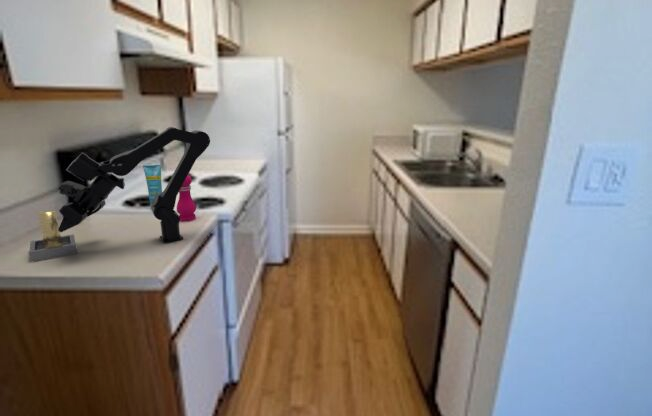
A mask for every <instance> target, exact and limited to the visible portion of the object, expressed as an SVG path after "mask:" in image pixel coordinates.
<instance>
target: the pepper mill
mask: <svg viewBox="0 0 652 416" xmlns="http://www.w3.org/2000/svg"><path fill="white" fill-rule="evenodd" d="M192 180H193V179H192V177H191V175H190V174H188V176H187V178H186V179H185V181H184V183H183V185H182V187H181V189H180V191H179V193H178V202H177V203H176V213H177V214H178V215H179V217H180V221H179V222H183V221H186V222H192V221H195V220H196V219H197V218H196V214H195V212H196V210H197V206H196V204H195V202H194V200H193V198H192V195H191V194H192V193H191V189H192V186H191V184H192Z"/></svg>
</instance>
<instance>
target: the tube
mask: <svg viewBox="0 0 652 416" xmlns="http://www.w3.org/2000/svg"><path fill="white" fill-rule="evenodd" d="M142 168H143V172H144V176H145V182H146V185H147V186H146V187H147V190H148V197H149V204H150V206H151V205H152V204H151V203H150V202H151V201H153V199H154V197H155V194H156V192H157V193H159V194H161V193H162V192H163V189H162V188H163V187H162V164H151V165H150V164H149V165H146V164H145V165H144V164H143V165H142Z"/></svg>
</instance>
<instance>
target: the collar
mask: <svg viewBox="0 0 652 416" xmlns="http://www.w3.org/2000/svg"><path fill="white" fill-rule="evenodd" d="M60 236H61V235H60ZM61 241H62V246H57V247H51V248H45V245H44V240H43V238H42V239H36V240H31V241H30V243H29V252H28V254H29V256H30V261H31V262H30V263H33V262H32V261H34V262H39V260H40V261H43V260H45V261H46V260H49V259H50V258H51V259H55V258H60V257H66V256H71V255H77V254H78V250H77V243H76V238H75V234H67V235H62V236H61Z"/></svg>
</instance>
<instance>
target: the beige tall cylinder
mask: <svg viewBox="0 0 652 416" xmlns="http://www.w3.org/2000/svg"><path fill="white" fill-rule="evenodd" d="M37 216H38V220H39V226H40V231H41V234H42V239H43V240H44V245H45V248H51V247H57V246H62V241H61V232H60V231H58V229H59V227H60V225H59V221H58V216H57V211H56V209H47V210H41V211H38V212H37Z"/></svg>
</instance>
